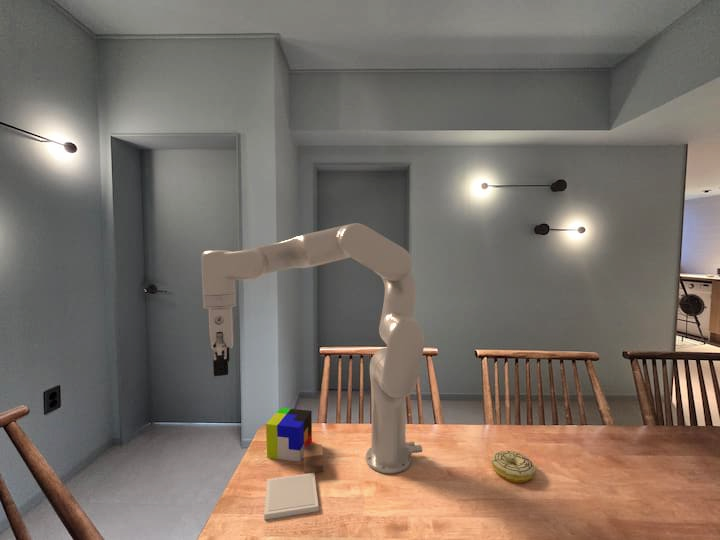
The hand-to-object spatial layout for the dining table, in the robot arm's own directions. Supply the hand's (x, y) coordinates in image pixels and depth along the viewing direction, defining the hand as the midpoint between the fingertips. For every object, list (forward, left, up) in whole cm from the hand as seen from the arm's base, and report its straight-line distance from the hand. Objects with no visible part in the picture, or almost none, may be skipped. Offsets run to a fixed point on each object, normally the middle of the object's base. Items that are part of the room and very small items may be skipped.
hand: (222, 368), depth 89 cm
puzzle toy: (-16, -11, -30) cm, 36 cm away
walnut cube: (-22, -1, -30) cm, 37 cm away
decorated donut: (-74, +12, -30) cm, 81 cm away
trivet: (-16, +9, -30) cm, 35 cm away
